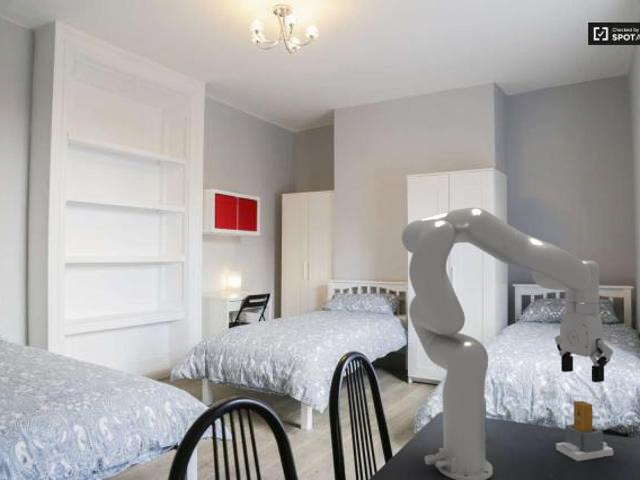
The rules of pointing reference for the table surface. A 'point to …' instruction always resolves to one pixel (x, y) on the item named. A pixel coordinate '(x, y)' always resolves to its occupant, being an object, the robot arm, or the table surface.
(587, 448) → the grey slotted holder
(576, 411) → the supplement box
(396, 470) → the table surface
